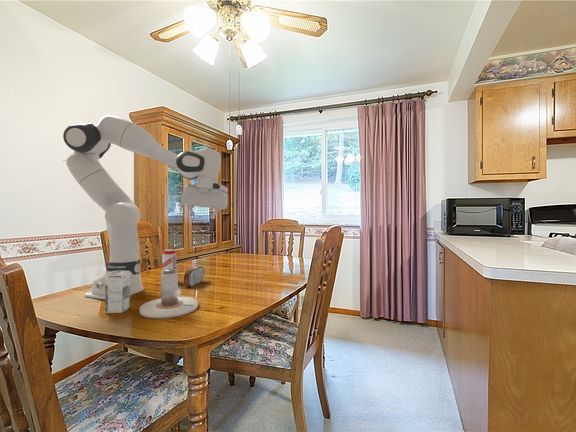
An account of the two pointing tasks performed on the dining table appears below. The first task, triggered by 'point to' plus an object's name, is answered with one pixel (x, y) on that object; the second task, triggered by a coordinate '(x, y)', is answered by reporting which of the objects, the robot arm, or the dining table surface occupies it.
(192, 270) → the tin
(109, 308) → the syrup box
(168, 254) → the beer can
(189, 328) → the dining table surface
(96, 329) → the dining table surface
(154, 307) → the disc
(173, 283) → the white drink can
